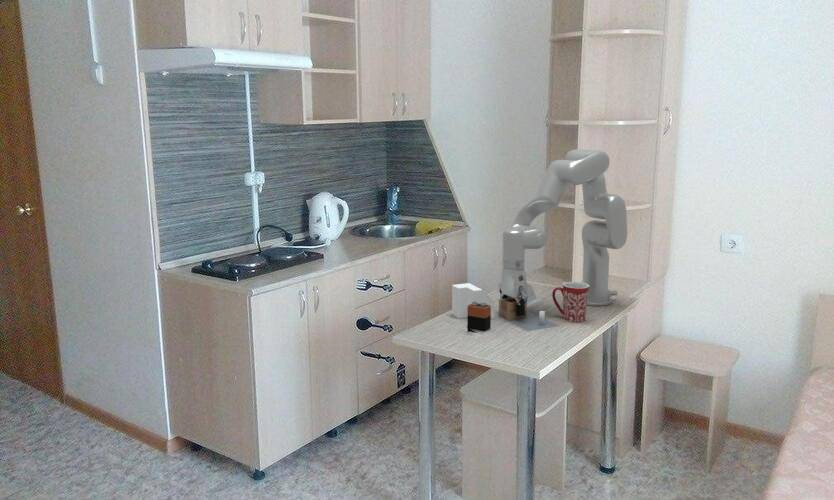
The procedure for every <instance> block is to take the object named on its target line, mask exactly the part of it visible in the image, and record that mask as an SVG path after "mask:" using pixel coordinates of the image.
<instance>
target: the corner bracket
mask: <svg viewBox="0 0 834 500" xmlns="http://www.w3.org/2000/svg"><path fill="white" fill-rule="evenodd" d="M472 302H477V303H479V304H480V303H487V305H490V306H491V320H493V319H495V300H493V299H492V298H491V297H490V296H489V295H488V294H487V292H485V290H483V289H481V288H480V287H477V286H476V285H473V284H472V283H470V282H469V283H458V284H451V315H453V316H454V317H456V318H458V319H462V318H463V319H464V318H468V305H470V304H472Z"/></svg>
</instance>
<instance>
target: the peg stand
mask: <svg viewBox="0 0 834 500" xmlns="http://www.w3.org/2000/svg"><path fill="white" fill-rule="evenodd" d="M495 317H496V318H499V319H502V321H506V322H508V323H510V324H512V325H514V326H516V327H518V328H520V329H522V330H524V331H526V332H531V331H532V332H533V331H537V330H543V329H549V328H556V327H560V325H559V324H557V323H554V322H552V321H550V320H548V319H546V311H545V310H540V311H539V313H538V315H536V314H534V313H532V312H530V311H527V317H526V318H524V319H517V320H511V321H509V320H507V319H505V318H503V317H501V316H499V314H496V315H495Z"/></svg>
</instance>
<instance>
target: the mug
mask: <svg viewBox="0 0 834 500" xmlns="http://www.w3.org/2000/svg"><path fill="white" fill-rule="evenodd" d="M588 288H589V285H588V284H586V283H583V282H581V281H580V282H578V281H567V282H563V283H562V287H560V286H558V287H557V286H556V287H555V288H554V289H553V291H552V300H553V303H554V305H555V306H556V308H557V310H558V311H559V312H560V314H561V315H562V317H563V321H566V322H570V323H583V322H585V321H586V314H587V306H588V305H587V298H588ZM556 291H560V292H561V295H562V301H563V302H562V303H563V309H562V307H561V306H560V304H559V303H558V301H557V298H556Z"/></svg>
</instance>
